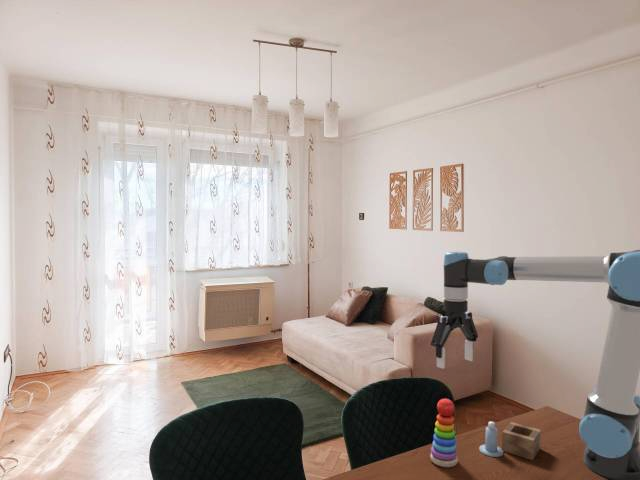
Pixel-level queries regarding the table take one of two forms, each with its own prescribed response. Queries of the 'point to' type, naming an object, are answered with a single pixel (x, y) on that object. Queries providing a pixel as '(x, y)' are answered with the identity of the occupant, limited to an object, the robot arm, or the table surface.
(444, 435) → the stacking toy
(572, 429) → the table surface
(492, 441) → the pale blue pawn
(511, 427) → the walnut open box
